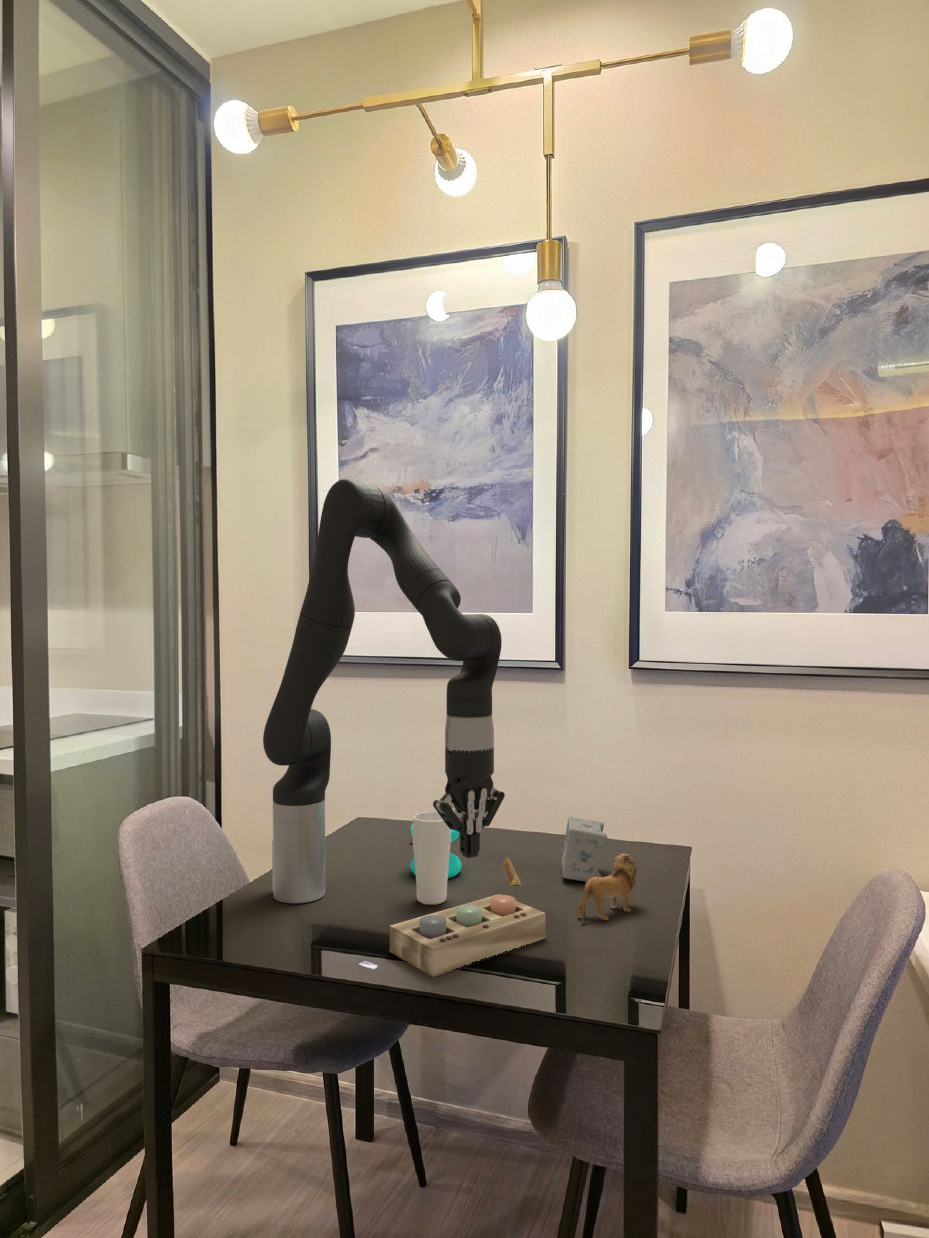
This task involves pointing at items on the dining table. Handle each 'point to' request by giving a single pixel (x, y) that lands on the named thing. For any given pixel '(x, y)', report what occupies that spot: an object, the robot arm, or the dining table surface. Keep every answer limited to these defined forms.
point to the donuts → (453, 859)
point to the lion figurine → (610, 886)
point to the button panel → (466, 937)
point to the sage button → (468, 915)
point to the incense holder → (582, 849)
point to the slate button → (432, 926)
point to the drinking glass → (431, 857)
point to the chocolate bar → (510, 872)
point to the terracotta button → (503, 905)
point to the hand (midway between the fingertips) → (469, 856)
